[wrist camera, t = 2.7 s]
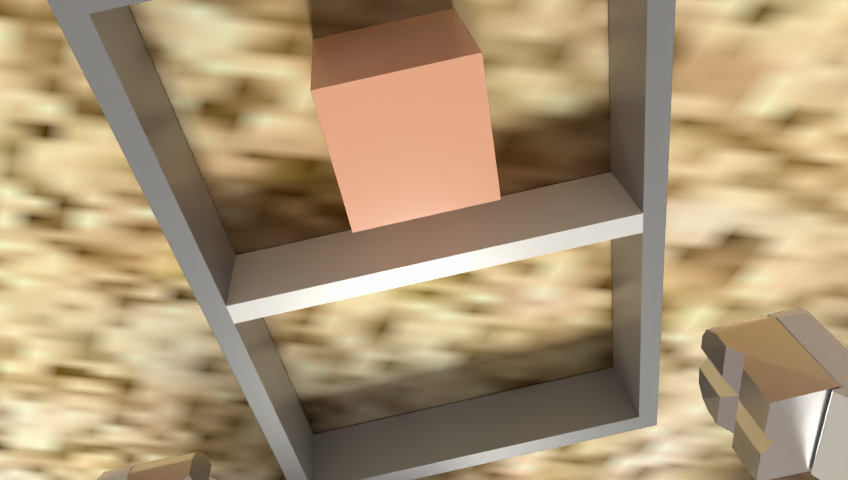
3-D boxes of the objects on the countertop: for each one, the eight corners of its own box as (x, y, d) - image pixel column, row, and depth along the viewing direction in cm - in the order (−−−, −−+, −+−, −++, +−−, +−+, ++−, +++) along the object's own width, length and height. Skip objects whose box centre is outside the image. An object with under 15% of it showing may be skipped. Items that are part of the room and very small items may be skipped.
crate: (633, -159, 18) (682, -154, 16) (629, 375, 31) (656, 424, 28) (79, -37, 18) (41, -12, 16) (301, 448, 31) (299, 505, 28)
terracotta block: (452, 7, 20) (482, 52, 17) (472, 135, 23) (500, 199, 19) (313, 38, 20) (310, 90, 17) (347, 163, 23) (352, 232, 19)
